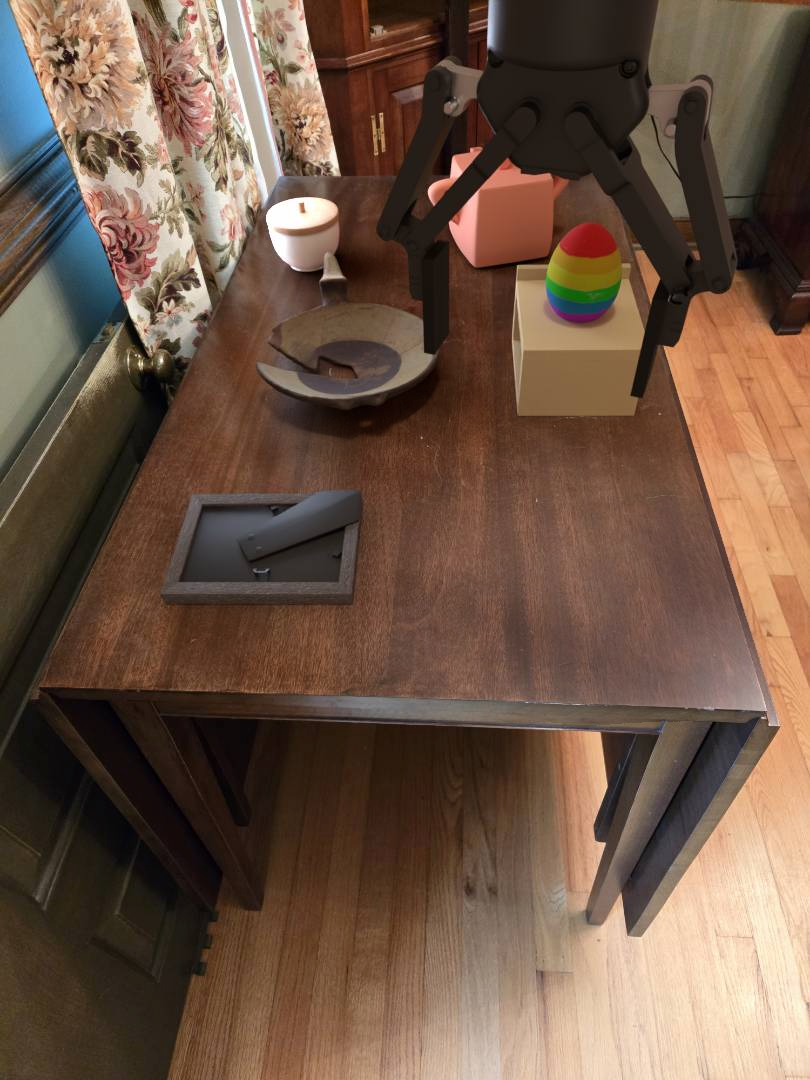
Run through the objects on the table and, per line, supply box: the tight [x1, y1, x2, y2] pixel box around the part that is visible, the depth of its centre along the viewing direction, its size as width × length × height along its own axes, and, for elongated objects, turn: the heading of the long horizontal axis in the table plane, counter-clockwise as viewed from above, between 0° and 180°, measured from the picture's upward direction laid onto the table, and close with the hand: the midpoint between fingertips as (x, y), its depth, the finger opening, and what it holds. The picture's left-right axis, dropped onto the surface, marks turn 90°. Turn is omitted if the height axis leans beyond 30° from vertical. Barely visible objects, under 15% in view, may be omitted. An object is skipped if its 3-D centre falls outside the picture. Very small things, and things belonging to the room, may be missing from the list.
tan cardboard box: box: [511, 262, 645, 417], centre depth 86 cm, size 14×16×10 cm
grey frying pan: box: [255, 252, 441, 411], centre depth 91 cm, size 22×30×8 cm
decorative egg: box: [546, 221, 623, 322], centre depth 80 cm, size 8×8×10 cm
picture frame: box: [159, 489, 364, 605], centre depth 72 cm, size 13×2×18 cm
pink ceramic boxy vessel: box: [427, 146, 570, 268], centre depth 110 cm, size 20×22×14 cm
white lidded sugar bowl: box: [265, 196, 341, 273], centre depth 109 cm, size 11×11×9 cm
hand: (534, 363), depth 47 cm, fingers open, 13 cm apart
